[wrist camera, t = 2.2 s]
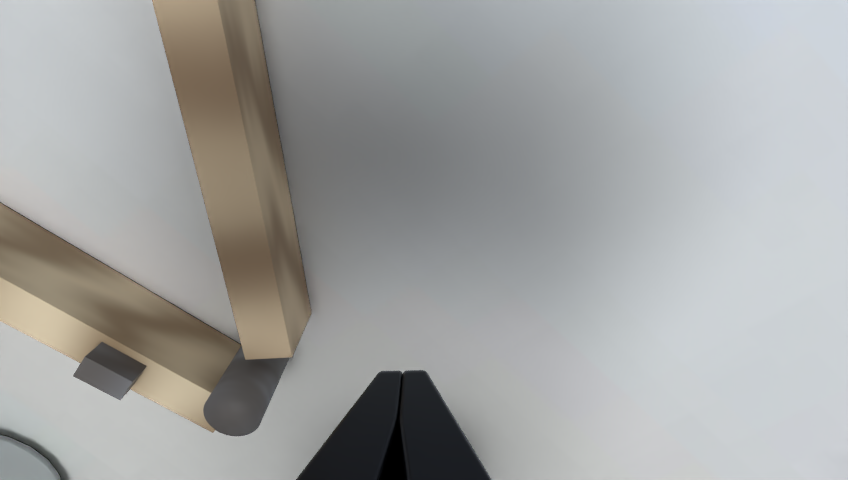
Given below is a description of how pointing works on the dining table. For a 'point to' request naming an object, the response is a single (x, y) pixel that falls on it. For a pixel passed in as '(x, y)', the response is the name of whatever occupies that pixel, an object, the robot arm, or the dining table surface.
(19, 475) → the supplement can
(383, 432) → the robot arm
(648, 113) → the dining table surface
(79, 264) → the tongs fixed arm
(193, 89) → the tongs jaw
